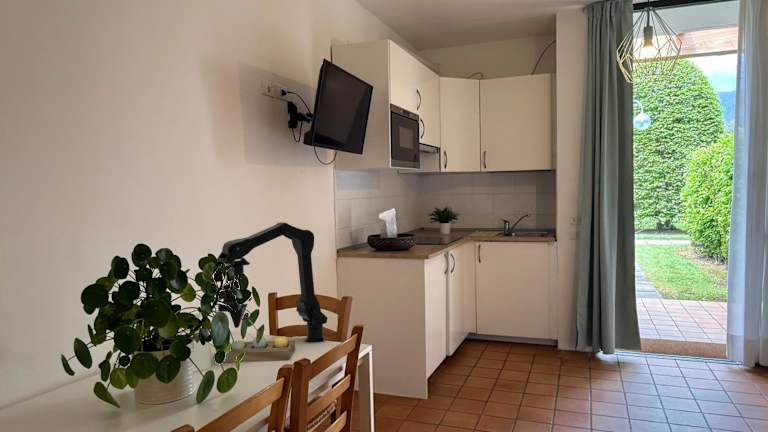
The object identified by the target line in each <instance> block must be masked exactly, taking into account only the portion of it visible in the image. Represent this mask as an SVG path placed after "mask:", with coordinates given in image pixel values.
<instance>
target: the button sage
mask: <svg viewBox="0 0 768 432" xmlns="http://www.w3.org/2000/svg"><path fill="white" fill-rule="evenodd" d="M244 342H245V340H235V341H232V342H231V343H232V349H244V348H245V346H244Z"/></svg>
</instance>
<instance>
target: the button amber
mask: <svg viewBox="0 0 768 432" xmlns="http://www.w3.org/2000/svg"><path fill="white" fill-rule="evenodd" d="M287 340H288V337H287V336H285V335H284V336H277V337H274V341H275V348H287Z"/></svg>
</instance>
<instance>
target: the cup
mask: <svg viewBox="0 0 768 432" xmlns="http://www.w3.org/2000/svg"><path fill="white" fill-rule="evenodd" d="M192 313H193V312H192ZM199 313H200V312H195V313H193V314H194V315H195V316H197V317H198V318H199V319H200V318H201V315H200V314H199ZM192 359H193V361H194V362H195V364H196V365H197V366H198V368H199V369H200V371H199V372H201V371H205V370H208V369H210V368H211V367H212V347H211V342H210V343H206V344H205V345H204V346H202V345H201V344H200V343H195V345H194V354H193V355H192Z"/></svg>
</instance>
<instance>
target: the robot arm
mask: <svg viewBox="0 0 768 432" xmlns="http://www.w3.org/2000/svg"><path fill="white" fill-rule="evenodd" d="M281 236H283V237H285V238H286V239H289V240H291V243H292V247H293V250H294V251H295V253H296V255H297V265H298V275H299V285H300V286H299V287H300V296H299V299H296V300H295V304H296V310H295V312H297V314H298V315H299V316H300V318H302V321H303V322H305V323H306V335H307V336H306V338H305V340H304V342H305V343H306V342H307V343H310V342H313V343H315V342H324V341H325V338H326V335H324V324H327V322H328V316H327V315H325V314H324V312H322V309H321V306H320V302H319V300H318V298H317V295H316V293H315V285H314V283H315V282H314V272H313V261H312V253H313V251H314V250H313V249H314V247H315V235H314V233H313V232H312V231H311V230H309V229H303V228H302V229H301V228H299V227H295V226H294V225H291V224H289V223H287V222H277V223H276V224H273V225H272V226H270V227H268V228H266V229H262V230H260V231H258V232H257V233H254V234H251V235H250V236H246V237H242V238H236V239H231V240H229V241H226V242H224V243H223V245H222V248H221V249H222V250H221V252H220V254H219V255H218V257H217V258H216V260H217V261H218V270H217V271H216V273H215V274H214V280H215V282H214V283H220V282H221V283H222V281H221V275H222V272H221V264H222V262H224V263H225V264H224V265H226V270H228V269H229V268H230V267H233V268H234V275H235V279H236V280H237V279H238V275H239V274H240V273H243V274H244V275H245V273H244V272H245V271H244V266H249V265H250V264H251V263H250V262H249V261H248V260H247V259H246V256H247V255H248V254H249V253H251V252H252V251H253V250H254V249H256V248H257V247H259V246H262V245H264V244H266V243H268V242H270V241H273V240H275V239H277V238H279V237H281ZM223 280H225V284H226V283H228V281H227V279H226V277H224V279H223ZM225 284H223V285H225ZM234 286H235V287H236V288H239V285H238V282H237V281H235V282H234ZM229 288H230V284H229V285H227V286H225V287H223V286H222V289H223V290H224V289H229ZM252 297H253V296H252ZM252 297H251V298H250V299H249V300H247V301H248V302H251V301H252V300H253V298H252ZM221 300H223V301H221ZM219 301H221V302H222V303H226V304H227V305H229V306H230V307H231V308H232V309H233V310H232V309H231V308H229V307H227V306H225V305H221V304H220V303H219V304H218V305H217V311H218V312H219V311H221V312H228V313H229V315H230V317H231V321H232V324H233V326H234V328H235V329H237V328H239V327H240V325H241V322H242V319H243V317H244V314H245V311H246V310H247V307H248V303H243V304H241V305H240V304H238V303H237V302H236V299H235V296H234V295H233V294H232V292H231V291H230V290H225V291H221V292H220V294H219ZM234 310H235V311H236V312H235V311H234ZM221 312H220V313H221Z"/></svg>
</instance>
